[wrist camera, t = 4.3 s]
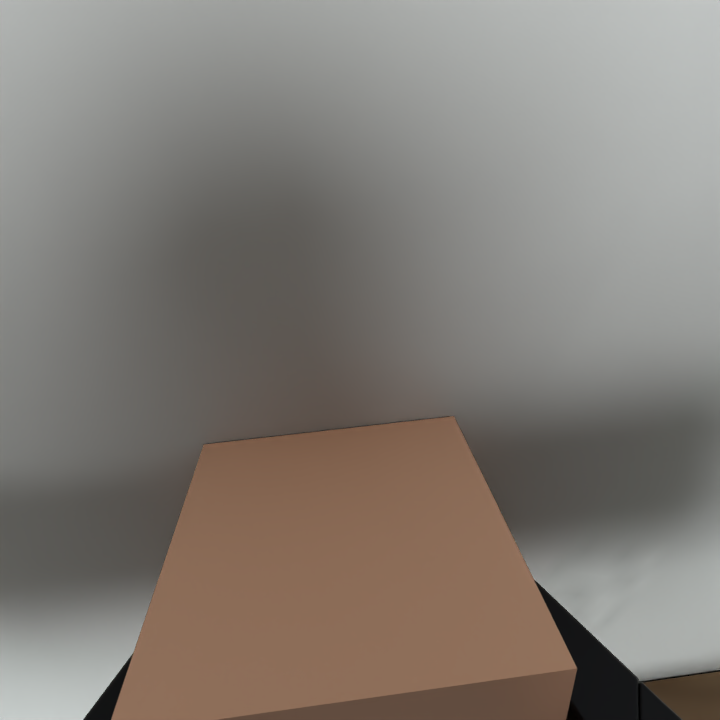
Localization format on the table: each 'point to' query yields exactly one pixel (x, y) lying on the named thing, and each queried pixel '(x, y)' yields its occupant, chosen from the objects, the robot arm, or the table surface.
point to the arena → (690, 695)
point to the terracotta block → (346, 589)
